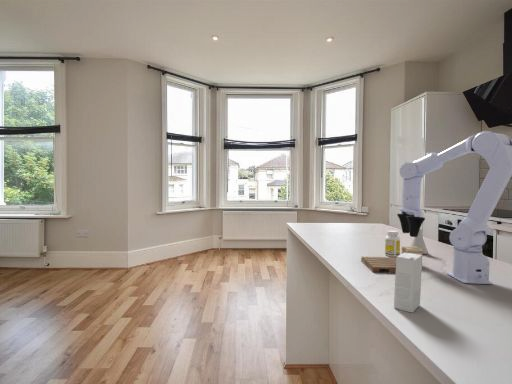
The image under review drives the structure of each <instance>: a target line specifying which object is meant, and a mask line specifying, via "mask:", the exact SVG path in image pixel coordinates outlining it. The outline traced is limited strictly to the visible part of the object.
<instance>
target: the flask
mask: <svg viewBox="0 0 512 384" xmlns="http://www.w3.org/2000/svg"><path fill="white" fill-rule="evenodd" d="M423 231H424V228H420V230H419V233H418V236H417V237H412V241H411V243H410V246H412V247H418V248H420V249H422V250H423V253H422V255H426V254H429V251H428V249H427V245H426V243H425V241H424V236H423Z"/></svg>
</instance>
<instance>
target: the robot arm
mask: <svg viewBox="0 0 512 384" xmlns="http://www.w3.org/2000/svg"><path fill="white" fill-rule="evenodd" d="M470 153H471V154H475V153H476V154H478V155H480V157H482V158H483V159H484V161H485V162H486V163H487V165H488V166H489V168H488V171H487V174H486V176H485V177H484V179H483V182H482V184H481V186H480V188H479V190H478V192H477V194H476V195H475V198H474V201H472V204H471V206H470V209H469V210H468V212H467V214H466V216H465V217H464V218H463V219H462V220H461V221H460V222H459V223H458V224H457V226H456V228H454V229H453V230H451V232H450V233H449V237H448V238H449V239H448V240H449V242H450V244H451V245H452V246H453V255H452V256H453V257H452V272H451V271H447V272H446V275H448V276H450V277H452V278H454V279H456V281H457V280H458V281H459V282H461V283H463V284H483V285H493V282H492V281H490V260H489V258H488V257H487V256H486V255H484V254H483V246H484V245H485V244H486V242H487V239H488V238H487V233H488V230H489V225H488V222H489V220H490V219H491V216H492V214H493V212H494V211H495V208H496V207H497V204H498V202H499V201H500V199H501V197H502V195H503V193H504V191H505V189H506V187H507V185H508V183H509V182H510V179H511V178H512V138H511V137H510V136H508V135H507V134H504V133H496V132H493V131H491V130H483V131H480V132H478V133H476V134H473V135H470V136H468V137H467V138H465V139H464V140H462V141H460V142H458V143H456V144H455V145H453V146H451V147H449V148H447V149H445V150H443V151H441V152H439V153H437V152H427V153H425V155H424V156H422V157H421V158H417V159H414V160H413V161H412V162H407V161H406V162H404V163H403V164H402V165H401V167H400V168H399V176H400V177H402V193H401V196H402V197H401V207H400V208H397V209H398V210H397V211H398V212H400V213H397V215H396V216H397V217H398V218H399V223H400V226H401V231H402V234H409V237H412V238H414V237H417V236H418V233H419V230H420V229H421V226H422V225H423V223H424V221H425V219H426V218H425V217H423V215H422V214H423V211H422V210H421V185H422V179H423V177H424V176H425V175H427V174H430V173H431V172H435V171H437V170H439V169H441V168H442V167H443V166H444V164H445V162H449V161H452V160H454V159H456V158H458V157H459V158H460V157H461V156H464V155H467V154H470Z"/></svg>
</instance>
